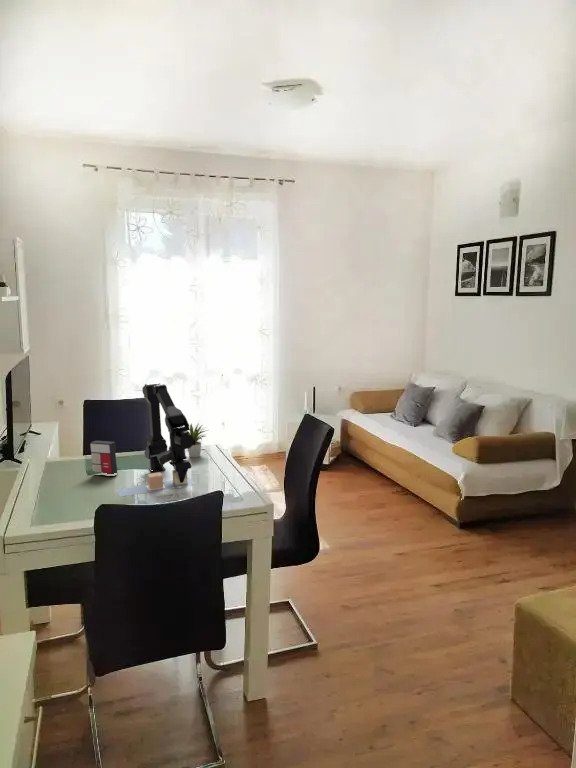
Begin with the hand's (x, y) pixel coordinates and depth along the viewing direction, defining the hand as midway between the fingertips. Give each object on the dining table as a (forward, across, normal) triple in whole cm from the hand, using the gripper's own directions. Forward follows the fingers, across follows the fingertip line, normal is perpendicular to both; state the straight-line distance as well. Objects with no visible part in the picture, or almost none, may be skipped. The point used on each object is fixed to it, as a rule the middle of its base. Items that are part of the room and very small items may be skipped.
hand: (180, 480), depth 240 cm
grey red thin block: (+2, -30, -27) cm, 40 cm away
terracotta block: (+1, 0, -10) cm, 10 cm away
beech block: (+1, 0, 0) cm, 1 cm away
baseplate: (+2, 0, -10) cm, 10 cm away
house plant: (+2, -38, +15) cm, 41 cm away
